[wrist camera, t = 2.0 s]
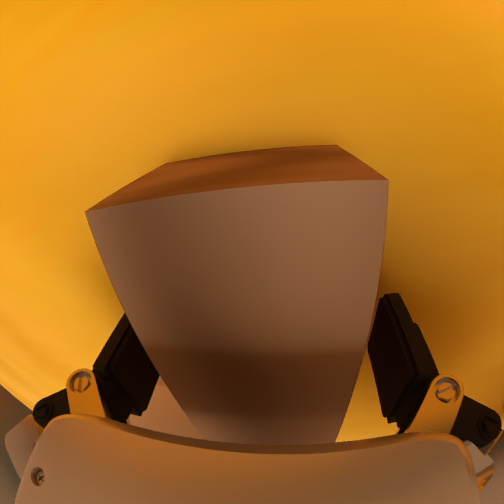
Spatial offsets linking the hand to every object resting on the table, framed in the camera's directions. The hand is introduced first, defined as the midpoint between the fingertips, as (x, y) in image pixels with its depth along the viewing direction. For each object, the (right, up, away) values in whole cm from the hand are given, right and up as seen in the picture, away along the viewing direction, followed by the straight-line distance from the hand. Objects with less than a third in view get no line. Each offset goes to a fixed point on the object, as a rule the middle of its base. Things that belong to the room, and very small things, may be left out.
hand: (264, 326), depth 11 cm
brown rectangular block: (0, +1, +1) cm, 2 cm away
